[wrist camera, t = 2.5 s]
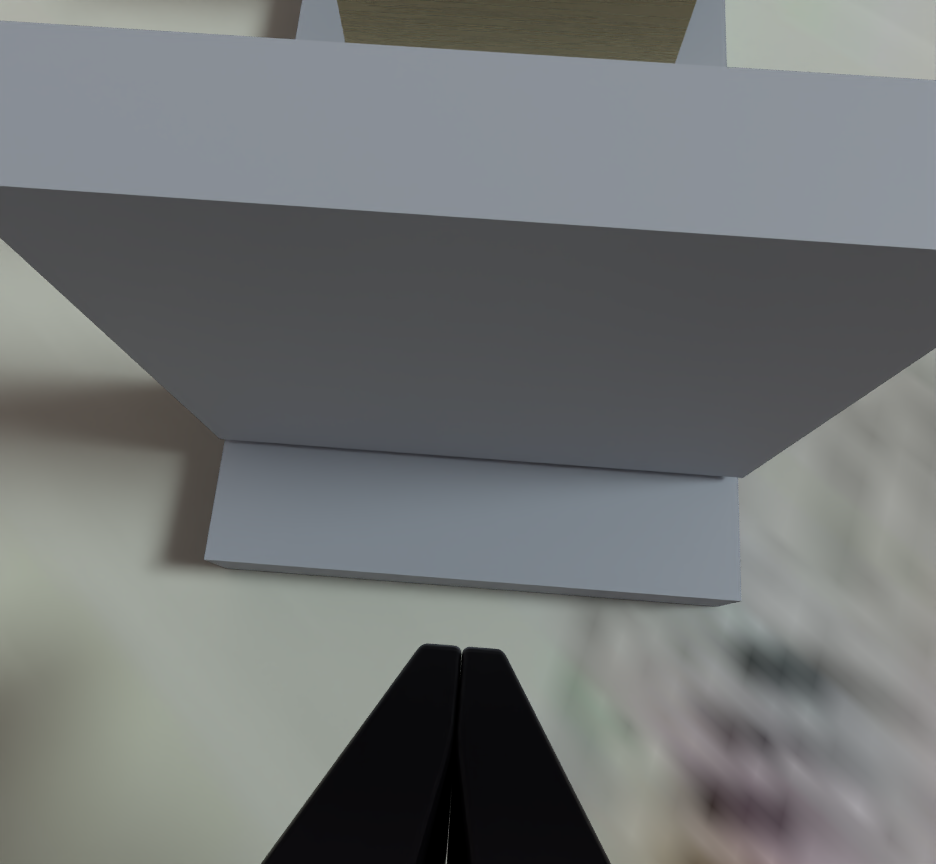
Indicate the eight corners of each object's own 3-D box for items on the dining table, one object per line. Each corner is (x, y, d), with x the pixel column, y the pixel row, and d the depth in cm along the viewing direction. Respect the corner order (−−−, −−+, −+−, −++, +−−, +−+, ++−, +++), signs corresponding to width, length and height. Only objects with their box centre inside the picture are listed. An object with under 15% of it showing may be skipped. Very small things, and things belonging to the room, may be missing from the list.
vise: (718, 606, 17) (864, 573, 11) (225, 568, 17) (88, 513, 11) (705, -54, 22) (797, -330, 16) (333, -77, 23) (282, -357, 16)
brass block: (625, 207, 18) (741, -127, 10) (373, 190, 18) (307, -152, 11) (627, 102, 19) (735, -276, 11) (386, 86, 19) (334, -299, 11)
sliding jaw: (742, 477, 16) (1067, 258, 7) (219, 439, 16) (-61, 181, 8) (740, 388, 17) (1038, 86, 8) (236, 351, 17) (-9, 21, 8)
